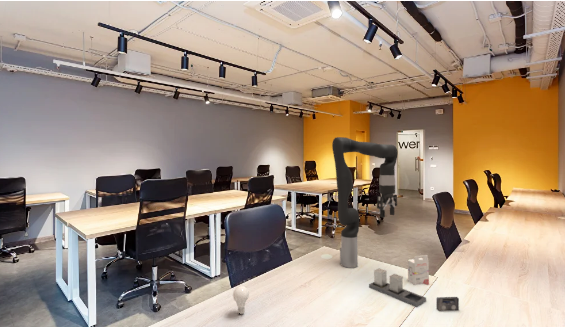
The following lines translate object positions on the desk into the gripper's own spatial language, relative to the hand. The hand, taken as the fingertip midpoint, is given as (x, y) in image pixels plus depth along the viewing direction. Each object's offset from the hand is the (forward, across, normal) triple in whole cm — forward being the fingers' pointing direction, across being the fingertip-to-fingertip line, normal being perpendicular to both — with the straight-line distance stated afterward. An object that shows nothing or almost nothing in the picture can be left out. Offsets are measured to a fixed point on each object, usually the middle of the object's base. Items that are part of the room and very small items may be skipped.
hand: (387, 216), depth 141 cm
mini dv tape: (+33, +7, +31) cm, 46 cm away
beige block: (+32, +11, +11) cm, 36 cm away
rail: (+33, +11, +11) cm, 37 cm away
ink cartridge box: (+33, -9, +11) cm, 36 cm away
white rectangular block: (+32, +11, +3) cm, 34 cm away
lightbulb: (+33, +73, -20) cm, 83 cm away
